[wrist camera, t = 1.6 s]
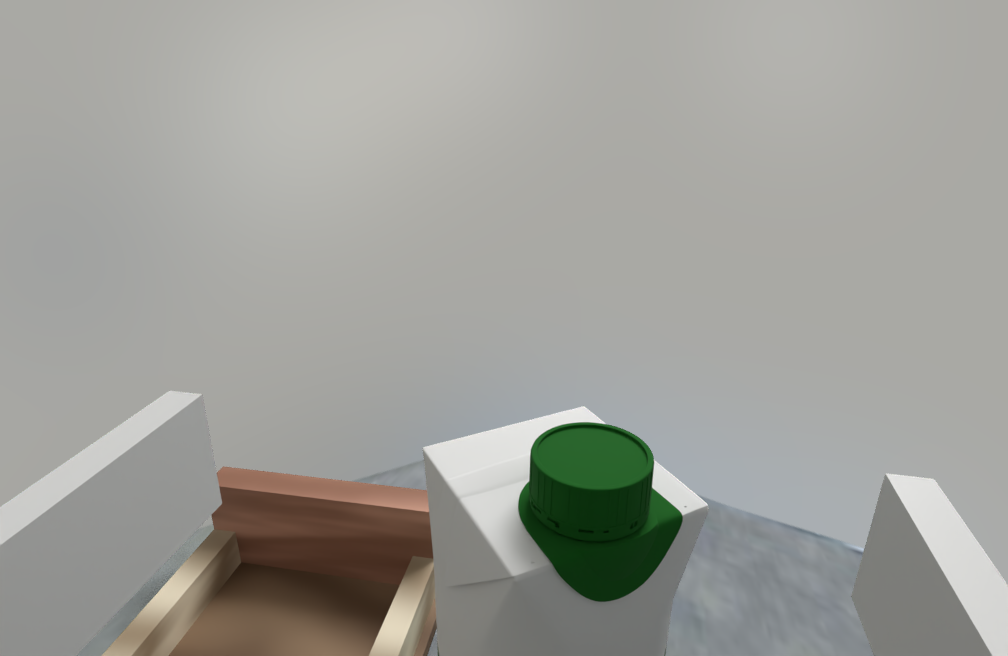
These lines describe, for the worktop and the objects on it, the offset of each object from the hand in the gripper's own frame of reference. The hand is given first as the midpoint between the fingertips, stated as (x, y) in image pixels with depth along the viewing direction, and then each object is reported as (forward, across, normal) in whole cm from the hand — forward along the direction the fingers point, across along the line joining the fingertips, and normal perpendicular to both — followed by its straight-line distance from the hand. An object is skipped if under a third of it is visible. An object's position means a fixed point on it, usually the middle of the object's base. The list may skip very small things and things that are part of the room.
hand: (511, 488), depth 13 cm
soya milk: (+10, 0, -24) cm, 26 cm away
